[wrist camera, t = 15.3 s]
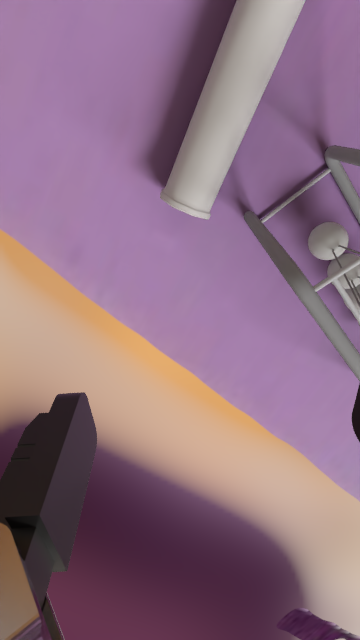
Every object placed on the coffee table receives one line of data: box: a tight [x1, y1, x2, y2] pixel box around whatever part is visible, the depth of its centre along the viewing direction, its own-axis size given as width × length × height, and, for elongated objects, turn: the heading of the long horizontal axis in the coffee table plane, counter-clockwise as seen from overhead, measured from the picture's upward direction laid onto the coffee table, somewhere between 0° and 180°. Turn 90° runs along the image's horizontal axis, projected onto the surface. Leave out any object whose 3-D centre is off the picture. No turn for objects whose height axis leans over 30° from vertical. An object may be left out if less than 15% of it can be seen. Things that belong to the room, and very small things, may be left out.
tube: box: [160, 0, 306, 220], centre depth 28 cm, size 5×5×25 cm
